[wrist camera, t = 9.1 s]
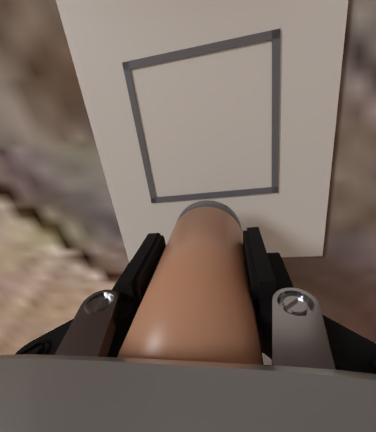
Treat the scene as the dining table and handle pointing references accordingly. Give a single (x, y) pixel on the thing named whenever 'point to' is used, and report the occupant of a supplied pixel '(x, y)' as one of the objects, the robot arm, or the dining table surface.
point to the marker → (198, 295)
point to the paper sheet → (213, 110)
